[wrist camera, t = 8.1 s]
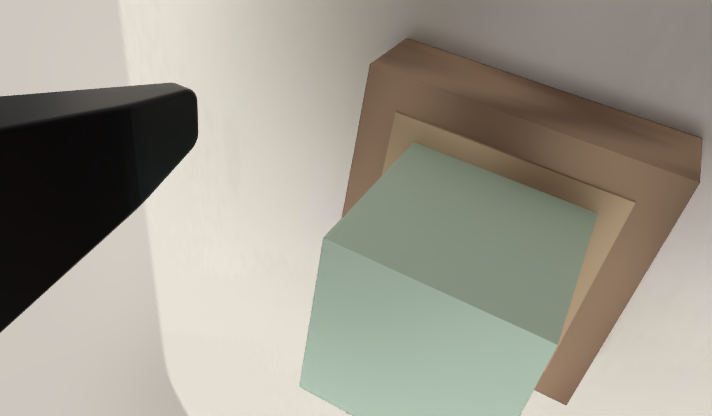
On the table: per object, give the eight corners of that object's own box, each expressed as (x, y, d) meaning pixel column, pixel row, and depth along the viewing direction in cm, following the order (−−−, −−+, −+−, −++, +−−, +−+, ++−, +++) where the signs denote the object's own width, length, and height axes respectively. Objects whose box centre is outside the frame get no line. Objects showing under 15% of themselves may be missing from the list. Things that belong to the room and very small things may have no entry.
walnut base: (702, 138, 19) (700, 184, 16) (580, 351, 25) (565, 407, 22) (406, 38, 22) (368, 65, 19) (360, 251, 28) (327, 291, 25)
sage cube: (598, 213, 18) (557, 344, 14) (532, 346, 22) (482, 486, 17) (413, 142, 20) (323, 237, 15) (380, 276, 23) (299, 386, 19)
